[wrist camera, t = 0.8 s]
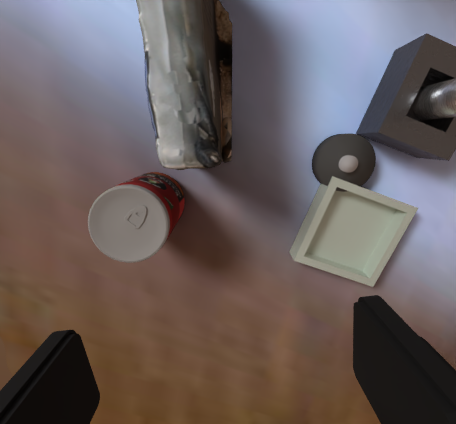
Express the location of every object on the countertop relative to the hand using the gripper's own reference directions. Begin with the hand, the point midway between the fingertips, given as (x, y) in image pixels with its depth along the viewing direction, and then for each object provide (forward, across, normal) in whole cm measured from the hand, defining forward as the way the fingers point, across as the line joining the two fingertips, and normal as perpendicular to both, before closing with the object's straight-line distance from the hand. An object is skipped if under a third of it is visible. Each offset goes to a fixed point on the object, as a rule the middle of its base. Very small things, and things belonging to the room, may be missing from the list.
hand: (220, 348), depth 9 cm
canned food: (+28, +9, 0) cm, 29 cm away
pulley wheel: (+27, -15, -2) cm, 31 cm away
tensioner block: (+27, -24, -8) cm, 37 cm away
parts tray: (+27, -16, +8) cm, 33 cm away
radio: (+28, +2, -15) cm, 32 cm away
